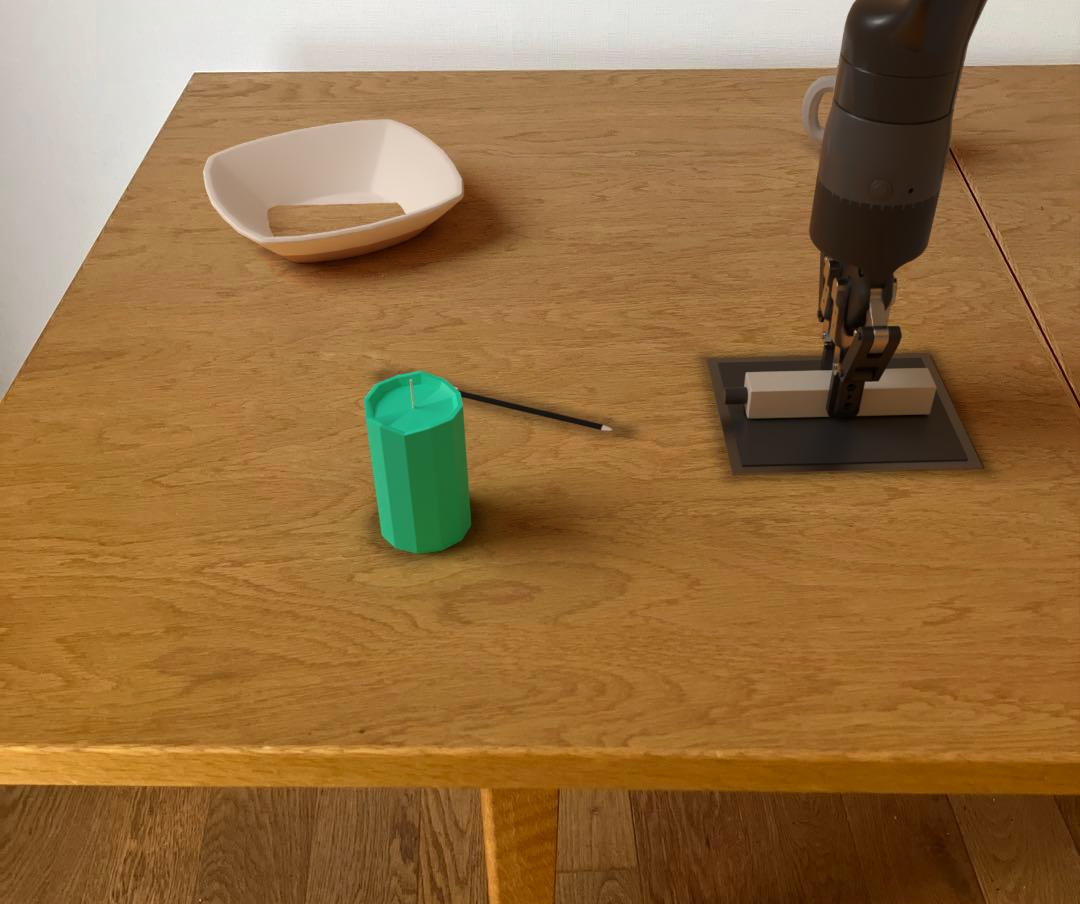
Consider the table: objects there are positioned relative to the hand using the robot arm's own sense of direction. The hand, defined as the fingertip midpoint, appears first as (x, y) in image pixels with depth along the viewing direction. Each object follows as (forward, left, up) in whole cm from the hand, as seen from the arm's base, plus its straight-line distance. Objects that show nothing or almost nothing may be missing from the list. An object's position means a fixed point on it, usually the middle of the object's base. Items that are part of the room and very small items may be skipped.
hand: (837, 401), depth 86 cm
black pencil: (+24, -2, -2) cm, 24 cm away
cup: (-10, -43, -2) cm, 44 cm away
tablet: (0, 0, -2) cm, 2 cm away
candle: (+29, +11, -2) cm, 31 cm away
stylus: (0, 0, 0) cm, 0 cm away
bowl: (+39, -31, -2) cm, 50 cm away
